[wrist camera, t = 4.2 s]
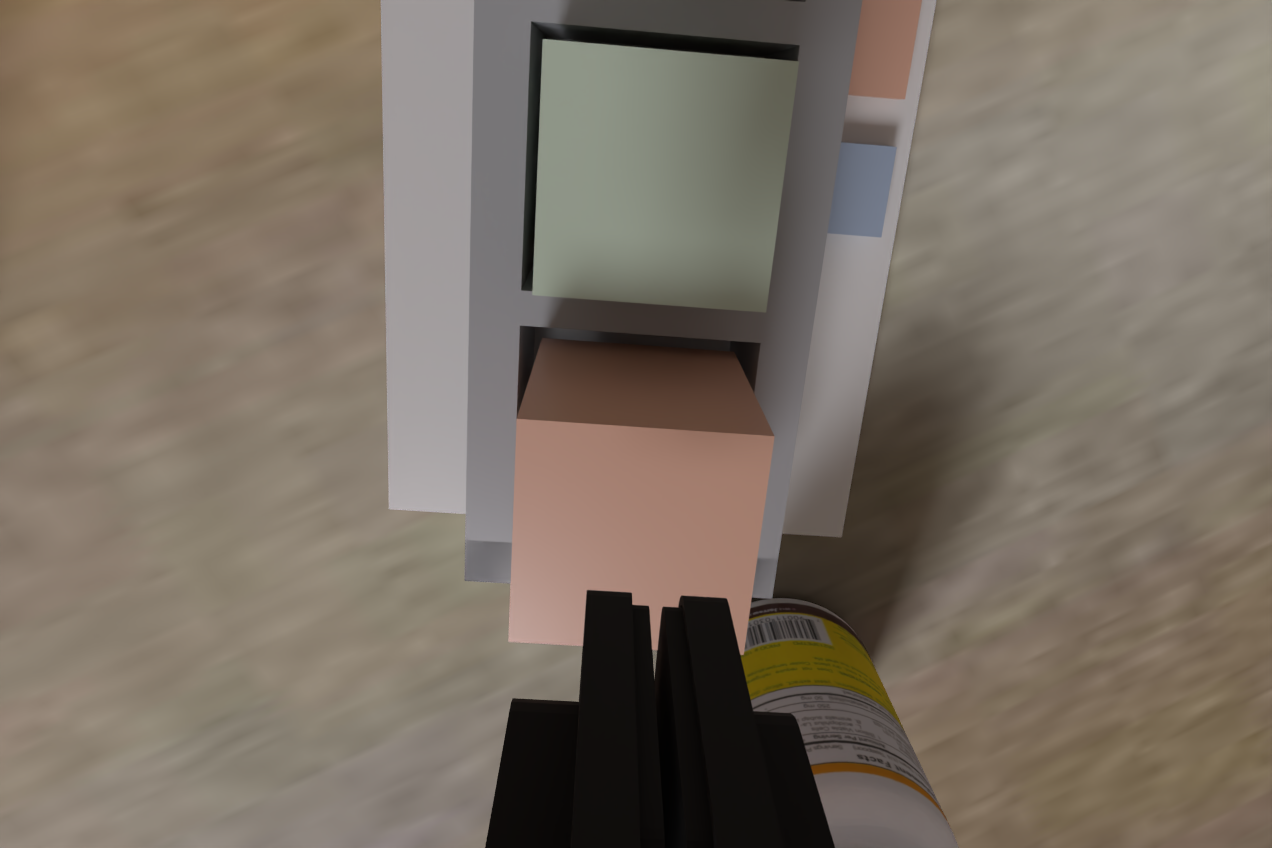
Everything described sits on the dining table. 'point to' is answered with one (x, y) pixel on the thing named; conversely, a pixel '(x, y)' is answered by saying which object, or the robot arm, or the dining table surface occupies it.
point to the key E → (659, 175)
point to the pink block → (634, 484)
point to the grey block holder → (517, 320)
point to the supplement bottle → (842, 726)
